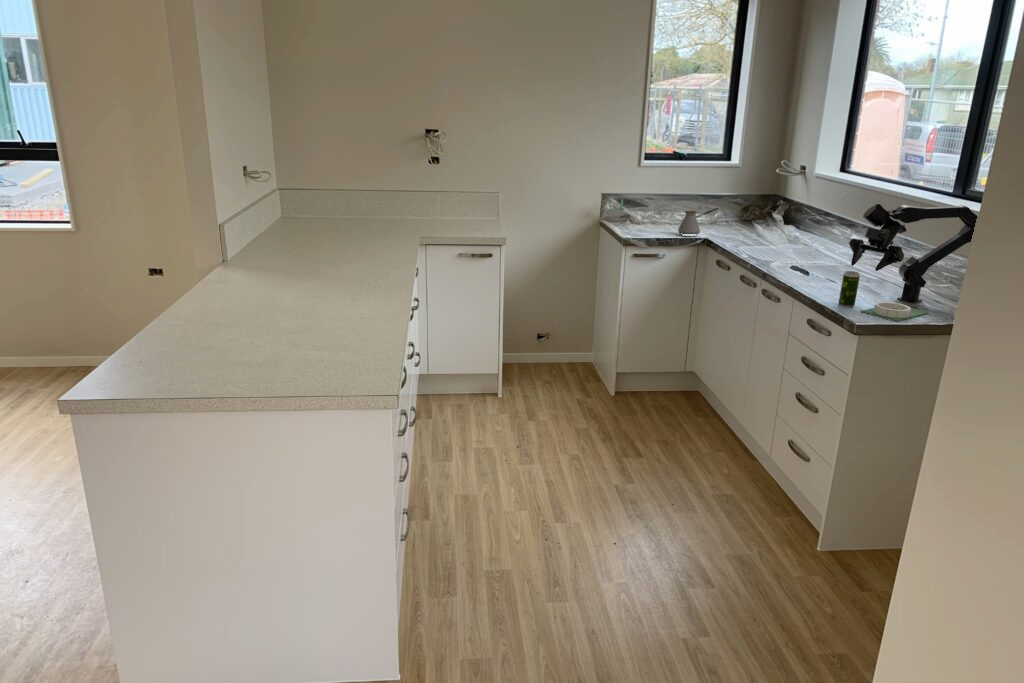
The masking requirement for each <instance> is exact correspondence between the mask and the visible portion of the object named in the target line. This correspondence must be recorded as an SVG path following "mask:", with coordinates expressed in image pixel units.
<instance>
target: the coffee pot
mask: <svg viewBox="0 0 1024 683" xmlns="http://www.w3.org/2000/svg"><path fill="white" fill-rule="evenodd" d="M715 211H718V212H720V208H719V207H715V208H712V209H709V210H707V211H706V212H704V213H701V214H698V215H697V213H698V211H695V210H684V213H685V216H684V217H683V220H682V221H681V223H680V226H678V229H677V230H678V231H677V232H678V234H680V233H682V234H698V235H699V234H701V229H700V227H699V226H700V225H699V224H698V218H700V217H702V216H705V215H707V214H711V213H712V212H715Z"/></svg>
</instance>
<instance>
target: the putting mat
mask: <svg viewBox="0 0 1024 683" xmlns="http://www.w3.org/2000/svg"><path fill="white" fill-rule="evenodd" d="M910 308H911V312H910V316H909V317H906V318H894V317H887V316H883V315H879V314H877V313H875V312H874V307H872V308H867V309H863V310H861V311H860V313H861V312H862V314H865V313H866V315H869V314H870V316H873V315H874V316H873V317H877V316H878V317H877V318H880V317H883V318H882V319H884V318H886V319H885V320H888V319H890V320H889V321H892V320H893V321H892V322H895V321H896V323H899V322H902V320H903V321H906V320H910V319H914V318H917V316H918V317H921V316H925V315H928V314H929V312H928V311H924V310H920V309H917V308H912V307H910ZM913 317H914V318H913ZM909 318H910V319H909ZM898 321H899V322H898Z"/></svg>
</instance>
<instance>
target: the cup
mask: <svg viewBox="0 0 1024 683" xmlns="http://www.w3.org/2000/svg"><path fill="white" fill-rule="evenodd" d="M873 308H874V312H875V313H877V314H879V315H883V316H887V317H894V318H906V317H909V316H910V312H911V308H912V307H911V306H908V305H906V304H902V303H899V302H891V301H877V302H875V304H874V307H873Z"/></svg>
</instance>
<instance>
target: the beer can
mask: <svg viewBox="0 0 1024 683" xmlns="http://www.w3.org/2000/svg"><path fill="white" fill-rule="evenodd" d="M860 275H861V274H860V272H858V271H854V270H852V271H851V270H847V271H844V273H843V276H842V281H841V287H840V293H839V296H838V297H839V298H838V305H839V306H840V305H841V306H840V307H845V308H852V307H854V306H855V305H856V300H857V294H858V291H859V290H858V288H859V283H860V279H861V278H860V277H861V276H860Z"/></svg>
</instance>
